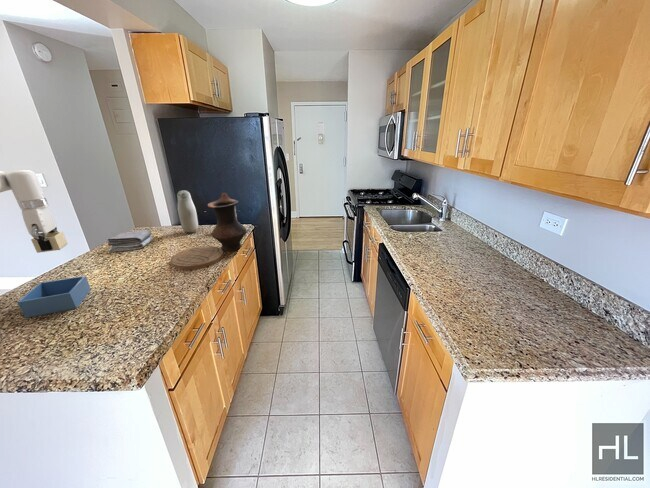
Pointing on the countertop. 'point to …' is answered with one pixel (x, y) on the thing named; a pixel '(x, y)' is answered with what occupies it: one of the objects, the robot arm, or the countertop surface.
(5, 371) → the countertop surface
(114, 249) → the towel
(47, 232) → the robot arm
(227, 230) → the jug
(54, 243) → the cream bin
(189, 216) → the white rounded column
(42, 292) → the blue bin
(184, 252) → the trivet
